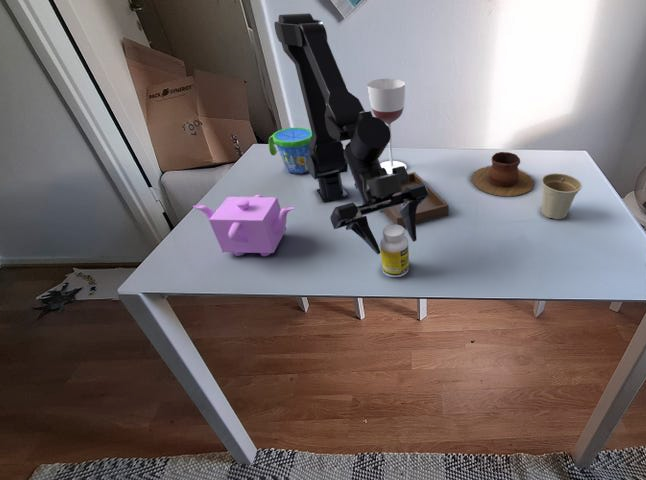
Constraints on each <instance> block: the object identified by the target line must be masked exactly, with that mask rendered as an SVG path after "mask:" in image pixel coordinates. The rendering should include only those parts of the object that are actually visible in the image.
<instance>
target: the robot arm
mask: <svg viewBox="0 0 646 480" xmlns="http://www.w3.org/2000/svg"><path fill="white" fill-rule="evenodd" d="M273 26H274V31H275V35H276V38H277V40H278V42H280V44H281V48H282V50H283V53H285V54H286V56H287V57H288V58H289V59H290V60H291V61H292V63H293V64H294V66H295V70H296V74H297V78H298V79H297V80H298V82H299V86H300V90H301V95H302V98H303V102H304V106H305V110H306V114H307V119H308V123H309V128H310V130H311V131H312V136H311V139H310V142H309V145H308V148H309V153H310V155H309V156H308V160H307V167H308V173H309V174H310V176H311V177H312V178H313V179H314V180H317V183H318V187H319V188H316V193H317V194H318V196H319V198H320V200H321V201H322V202H323V203H326V202H331V201H334V200H339V199H343V198H344V199H345V198H347V197H348V193H347V191H346V190H345V189H344V187H343V181H342V176H341V174H343V173H348V170H350V173H351V175H352V178H353V181H354V183H353V185H354V187H355V189H356V190H357V191H358V193H359V195H360V198H361V200H362V203H361V205H356V204H355V202H353V201H352V202H348V203H345V204H342V205H337V206H335V207H334V209H333V211H332V213H331V215H330V217H329V219H330V222H331V224H332V227H333V230H337V229H341V228H344V227H345V230H346V231H350V230H351V231H353V232H354V233H355V234H356V235H357V236H359V238H361V239H362V240H363V241H364V242H365V243H366V244H367V245H368V247H370V248H371V249H372V251H373V252H374V253H375V254H376V255H381V248H380V245H379V244H378V242H377V240H376V238H375V236H374V234H373V232H372V230H371V227H370V226H369V222H368V217H367V215H369V214H373V213H376V212H379V211H383V210H384V209H387V208H390V207H393V206H397V205H400V204H401V207H402V210H401V211H400V214H401V216H402V219H403V221H404V223H405V226H404V227H405V228H406V230H407V233H408V235H409V237H410V239H411V241H412V242H413V243H414V242H417V223H416V209H417V206H418V205H419V204H420V203H421V202H422V201H423V200H424V199H426V198H427V197H428V196H429V195H430V194H429V192H428V189H427V187H426V186H425V185H423V184H422V183H420V184H416V185H413V186H409V187H406V188H405V189H404V191H403V190H402V185H404V184H408V183H409V177H408V173H409V172H408V171H407V168H406V169H405V167H404V166H400V167H396V168H393V169H392V174H387V171H386V169H385V168H382V167H381V162H380V159H379V158H380V157H381V156H382V154H383V152H384V151H385V149H386V148H387V146H388V145H389V141H390V138H391V139H392V132H391V133H390V129H389V127H388V126H387V123H385V122H383V121H382V120H381V119H379V118H376V116H374V114H373V112H372V110H365V108H364V107H363V104H362V102H361V101H360V99H359V98H358V97H357V96H356V95H354V94H353V93H352V92H351V91H349V89H348V87H347V85H346V82H345V80H344V78H343V75H342V73H341V71H340V68H339V66H338V63H337V60H336V58H335V56H334V54H333V51H332V49H331V47H330V44H329V41H328V34H327V30H326V27H325V26H324V23H323V20H321V19H317V18H316V19H314V17H313V15H312V14H311V13H310V12H309V13H307V12H306V13H288V14H279V15H278V21H274V24H273ZM345 141H349V142H348V143H347V144H345V147H344V143H343V142H345ZM348 167H349V169H348ZM402 191H403V192H402ZM399 192H402V193H401V194H399V195H396V196H393V194H396V193H399ZM389 202H390V203H389ZM385 203H386V204H385Z"/></svg>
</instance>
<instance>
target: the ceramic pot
mask: <svg viewBox="0 0 646 480" xmlns="http://www.w3.org/2000/svg"><path fill="white" fill-rule="evenodd" d="M520 164H521V158H520V156H518V155H517V154H516V153H513V152H508V151H499V152H495V153H494V154H493V155H492V156H491V165H490V166H485V167H481V168H478V169H477V170H476V171H474V172H473V174H472V175H471V177H470V181H471V183H472V184H473V185H474V187H476V188H477V189H478V190H481V191H482V192H484V193H487V194H490V195H495V196H499V197H513V196H520V195H523V194H527V193H528V192H531V191H532V190H533V188H534V183H535V182H534V179H533V178H532V177H531V175H529V174H527V173H526V172H524V171H522V170H520V169H519V165H520Z"/></svg>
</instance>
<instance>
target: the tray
mask: <svg viewBox="0 0 646 480" xmlns="http://www.w3.org/2000/svg"><path fill="white" fill-rule="evenodd" d="M407 173H408V177H409V183H408V184H404V185H402V190H403V191H404V189H405V188H406V187H409V186H413V185H416V184H420V183H422V184H423V185H425V186H426V187H427V189H428V192H429V194H430V195H429V196H428V197H427V198H426V199H424V200H423V201H422V202H421V203H420V204H419V205H418V206H417V209H416V224H418V223H421V222H425V221H429V220H432V219H436V218H440V217H444V216H446V215H449V214H450V213H449V212H450V205H449V204H448V203H447V202H446V201H445V200H444V199H443V198H442V197H441V196H440V195H439V194H438V193H437V192H436V191H435V190H434V188H432V187H431V186H430V185H429V184H428V183H427V182H426V181H425V180H424V179H423V178H422V177H421V176H420V175H419V174H418V173H417V172H416V171H413V172H407ZM403 191H402V192H403ZM402 192H399V193H396V194H393V196H396V195H399V194H401V193H402ZM389 203H390V202H389ZM385 204H386V203H385ZM383 210H384V212H385V213H386V215H387V216H388V217H389V218H390V220H391V221H392V223H393V224H396V225H400V226H402V227H403V228H404V227H406V226H405V223H404V221H403V219H402V216H401V214H400V211H401V210H402V207H401V204H400V205H397V206H393V207H390V208H387V209H383Z"/></svg>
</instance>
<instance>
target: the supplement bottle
mask: <svg viewBox="0 0 646 480" xmlns="http://www.w3.org/2000/svg"><path fill="white" fill-rule="evenodd" d="M379 244H380V245H379V249H380V258H381V259H380V260H381V269H382V272H383V274H384V275H386V276H387V277H391V278H400V277H403V276H405V275H406V274H407V273H408V272H409V268H410V259H409V257H410V256H409V255H410V254H409V253H410V251H409V240H408V238H407V237H406V235H405V228H404V226H403V227H402V226H400V225H396V224H394V223H392V224H388V225H386V226H384V227H383V228H382V238H381V239H380V242H379Z"/></svg>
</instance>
